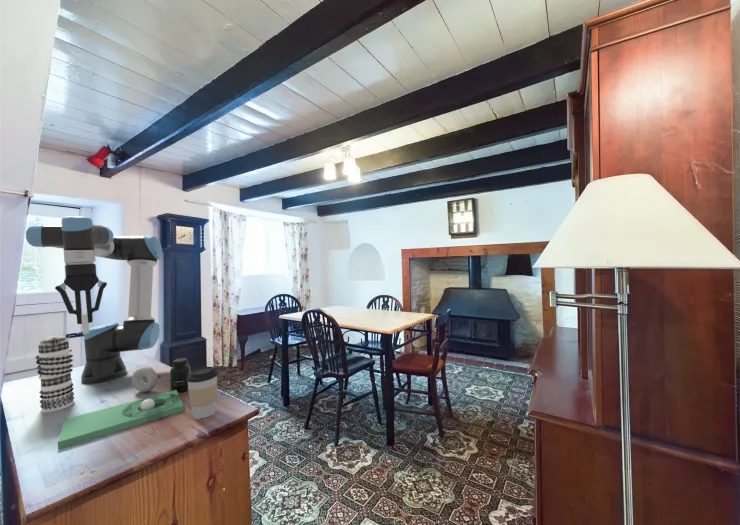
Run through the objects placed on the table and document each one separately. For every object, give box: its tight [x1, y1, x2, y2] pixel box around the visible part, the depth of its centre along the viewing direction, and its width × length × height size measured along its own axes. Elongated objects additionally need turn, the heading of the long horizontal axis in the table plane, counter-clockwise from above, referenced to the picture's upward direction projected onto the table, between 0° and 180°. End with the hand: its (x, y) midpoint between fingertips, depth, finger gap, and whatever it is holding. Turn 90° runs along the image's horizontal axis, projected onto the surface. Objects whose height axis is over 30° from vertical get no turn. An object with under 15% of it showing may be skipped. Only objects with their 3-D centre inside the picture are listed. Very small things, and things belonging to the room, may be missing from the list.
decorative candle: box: [35, 335, 75, 413], centre depth 109 cm, size 9×9×25 cm
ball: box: [140, 399, 155, 411], centre depth 104 cm, size 4×4×4 cm
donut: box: [131, 366, 158, 393], centre depth 119 cm, size 10×4×10 cm, turn 84°
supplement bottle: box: [169, 357, 192, 394], centre depth 120 cm, size 7×7×12 cm
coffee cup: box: [187, 366, 219, 420], centre depth 101 cm, size 9×9×15 cm
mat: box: [57, 390, 185, 450], centre depth 100 cm, size 16×30×2 cm, turn 129°
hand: (86, 332), depth 103 cm, fingers closed
